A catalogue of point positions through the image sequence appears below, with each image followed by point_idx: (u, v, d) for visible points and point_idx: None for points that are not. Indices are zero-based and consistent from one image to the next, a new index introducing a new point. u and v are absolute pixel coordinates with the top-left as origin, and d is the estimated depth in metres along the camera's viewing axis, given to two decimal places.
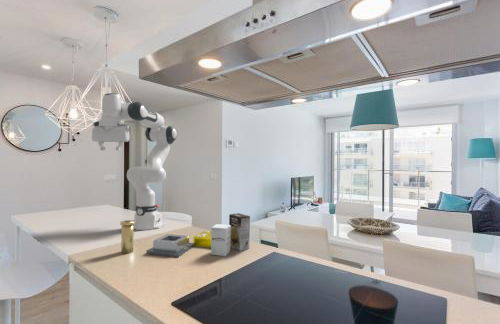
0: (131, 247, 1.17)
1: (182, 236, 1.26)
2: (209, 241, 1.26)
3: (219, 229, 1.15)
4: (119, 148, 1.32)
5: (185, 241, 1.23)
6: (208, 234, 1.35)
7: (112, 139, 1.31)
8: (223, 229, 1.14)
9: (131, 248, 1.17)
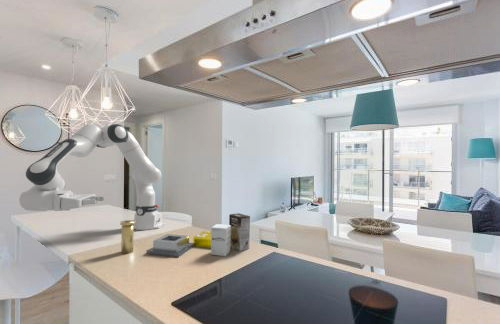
0: (131, 247, 1.17)
1: (182, 236, 1.26)
2: (209, 241, 1.26)
3: (219, 229, 1.15)
4: None
5: (185, 241, 1.23)
6: (208, 234, 1.35)
7: (88, 195, 1.17)
8: (223, 229, 1.14)
9: (131, 248, 1.17)
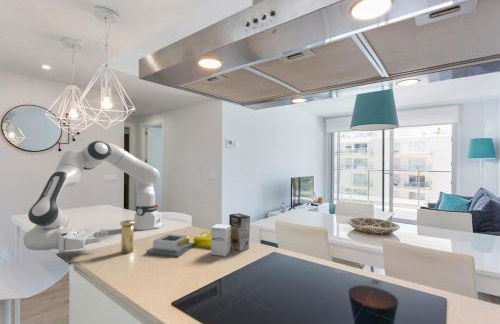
0: (131, 247, 1.17)
1: (182, 236, 1.26)
2: (209, 241, 1.26)
3: (219, 229, 1.15)
4: None
5: (185, 241, 1.23)
6: (208, 234, 1.35)
7: (92, 231, 1.17)
8: (223, 229, 1.14)
9: (131, 248, 1.17)
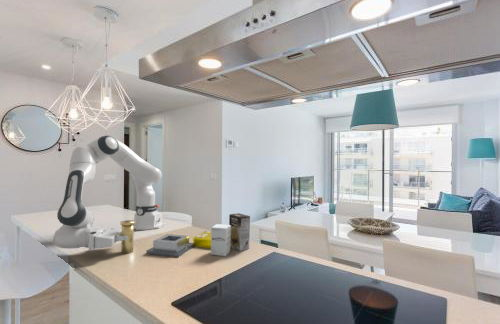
0: (131, 247, 1.17)
1: (182, 236, 1.26)
2: (209, 242, 1.25)
3: (219, 229, 1.15)
4: None
5: (185, 241, 1.23)
6: (208, 235, 1.34)
7: (118, 230, 1.19)
8: (223, 229, 1.14)
9: (131, 248, 1.17)
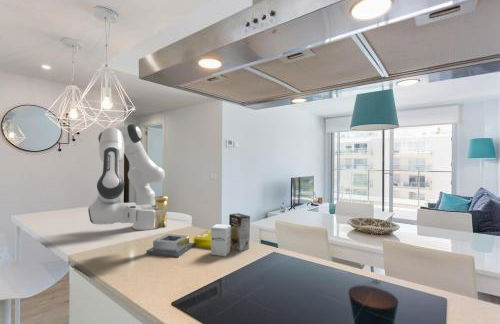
0: (165, 221, 1.20)
1: (182, 236, 1.26)
2: (208, 242, 1.26)
3: (219, 229, 1.15)
4: None
5: (185, 241, 1.23)
6: (208, 234, 1.34)
7: (150, 206, 1.20)
8: (223, 229, 1.14)
9: (165, 222, 1.20)
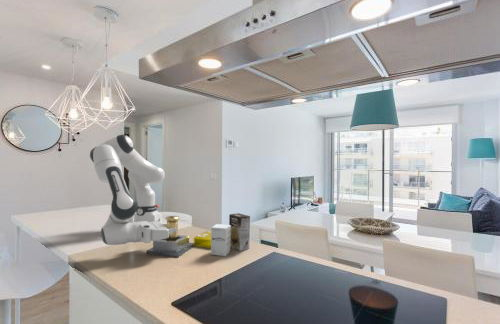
0: None
1: (182, 236, 1.26)
2: (208, 241, 1.26)
3: (219, 229, 1.15)
4: None
5: (185, 241, 1.23)
6: (209, 234, 1.35)
7: (160, 224, 1.22)
8: (223, 229, 1.14)
9: None
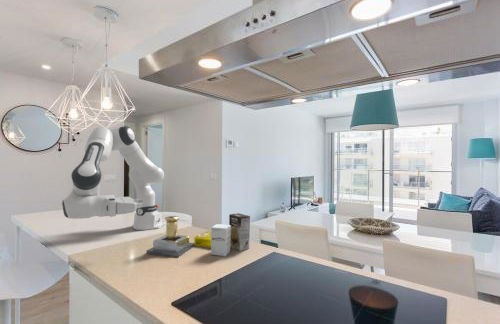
0: None
1: (182, 236, 1.26)
2: (208, 241, 1.26)
3: (219, 229, 1.15)
4: None
5: (185, 241, 1.23)
6: (210, 234, 1.35)
7: (130, 198, 1.15)
8: (223, 229, 1.14)
9: None
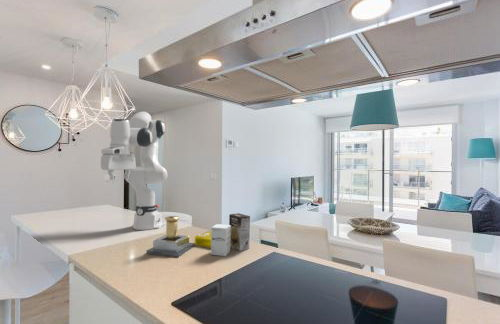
0: None
1: (182, 236, 1.26)
2: (208, 241, 1.26)
3: (219, 229, 1.15)
4: None
5: (185, 241, 1.23)
6: (210, 234, 1.35)
7: (126, 167, 1.28)
8: (223, 229, 1.14)
9: None
